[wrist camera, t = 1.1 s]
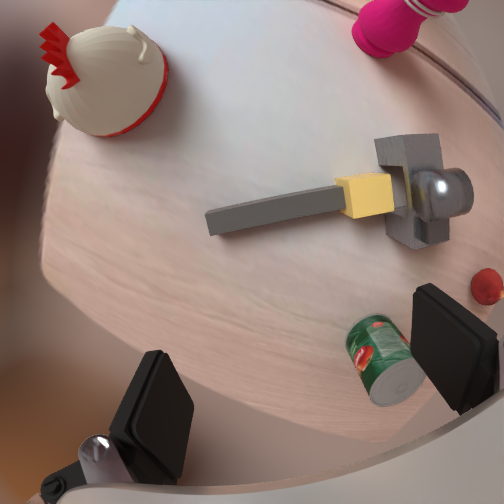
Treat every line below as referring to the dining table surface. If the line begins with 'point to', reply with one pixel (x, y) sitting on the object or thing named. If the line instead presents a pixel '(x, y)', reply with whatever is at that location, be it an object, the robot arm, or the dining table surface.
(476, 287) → the red rounded piece
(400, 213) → the block
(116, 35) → the kitchen timer
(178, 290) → the dining table surface
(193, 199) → the dining table surface
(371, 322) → the canned tomato
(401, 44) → the pepper mill
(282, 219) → the yellow tipped gray bar
